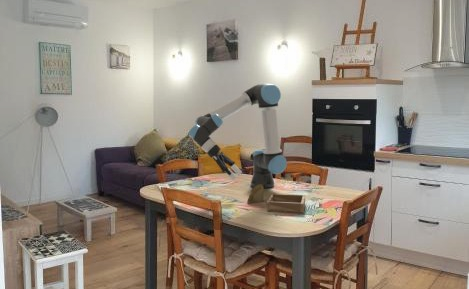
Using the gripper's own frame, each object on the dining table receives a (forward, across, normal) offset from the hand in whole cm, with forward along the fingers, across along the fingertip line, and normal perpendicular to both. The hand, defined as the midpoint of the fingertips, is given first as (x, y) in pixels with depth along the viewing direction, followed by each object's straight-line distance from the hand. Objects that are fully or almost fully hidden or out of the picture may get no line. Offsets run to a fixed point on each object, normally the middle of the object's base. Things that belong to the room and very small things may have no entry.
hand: (237, 176), depth 235 cm
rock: (+17, 0, -3) cm, 17 cm away
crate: (+29, +10, +10) cm, 33 cm away
